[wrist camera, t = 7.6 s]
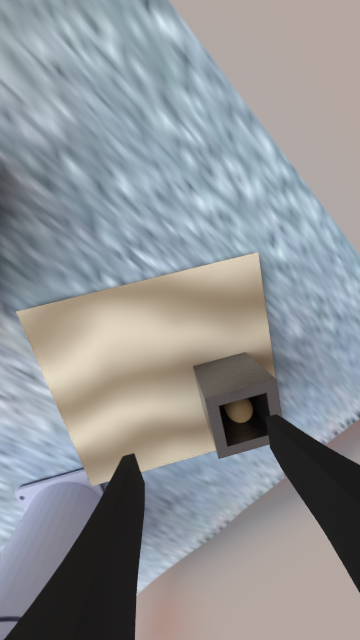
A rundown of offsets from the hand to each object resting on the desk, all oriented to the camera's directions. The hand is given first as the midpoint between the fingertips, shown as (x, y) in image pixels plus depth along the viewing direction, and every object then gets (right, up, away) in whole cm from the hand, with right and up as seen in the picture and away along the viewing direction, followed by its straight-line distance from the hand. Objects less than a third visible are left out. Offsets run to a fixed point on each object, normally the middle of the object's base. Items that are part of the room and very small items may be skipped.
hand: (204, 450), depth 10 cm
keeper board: (-3, +2, +9) cm, 9 cm away
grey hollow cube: (+3, +1, +8) cm, 9 cm away
